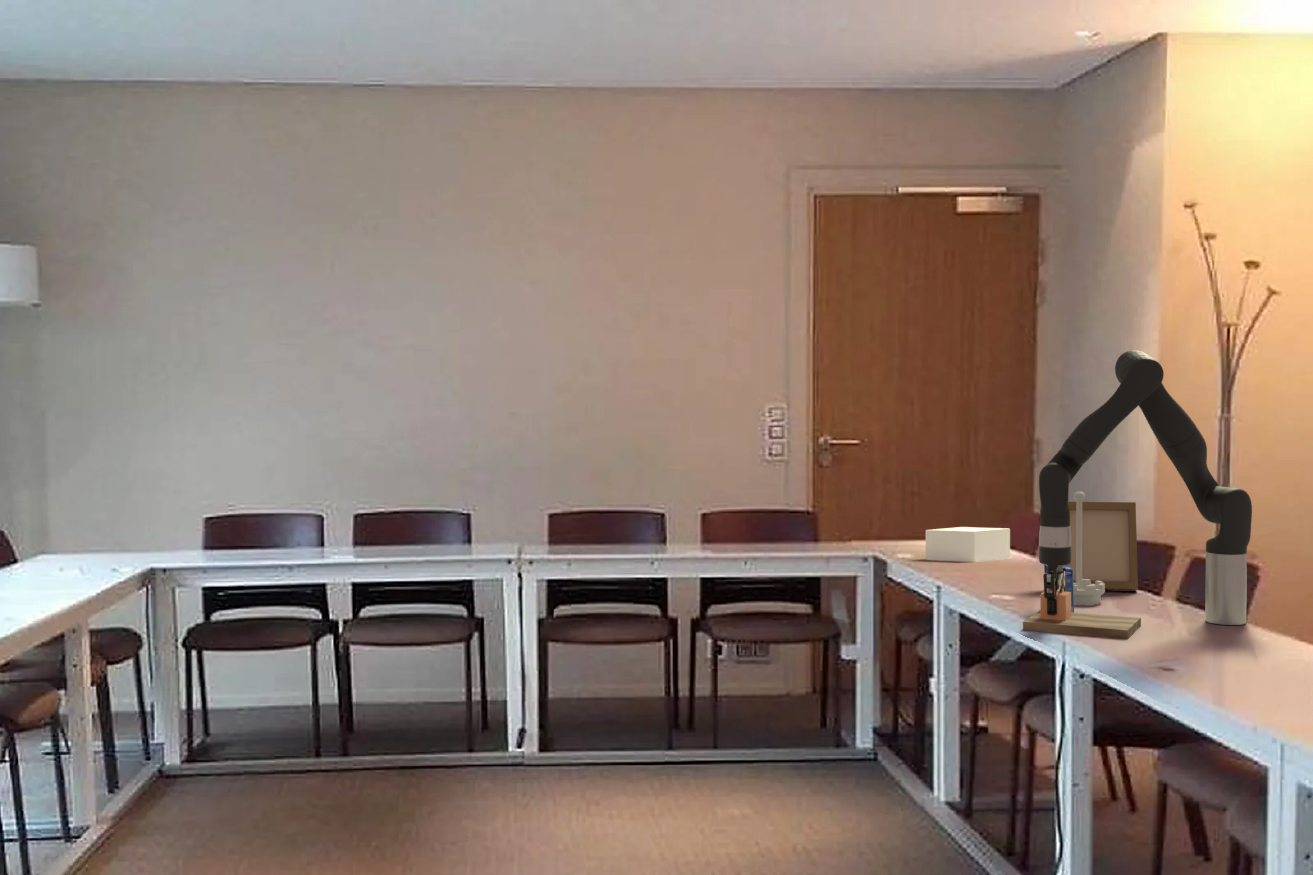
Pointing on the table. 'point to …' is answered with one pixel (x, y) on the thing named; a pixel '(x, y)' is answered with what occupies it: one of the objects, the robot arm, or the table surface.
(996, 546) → the white rectangular box
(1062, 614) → the orange cube
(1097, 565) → the photo frame
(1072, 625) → the base plate
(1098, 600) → the flag stand
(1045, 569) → the ink cartridge box
